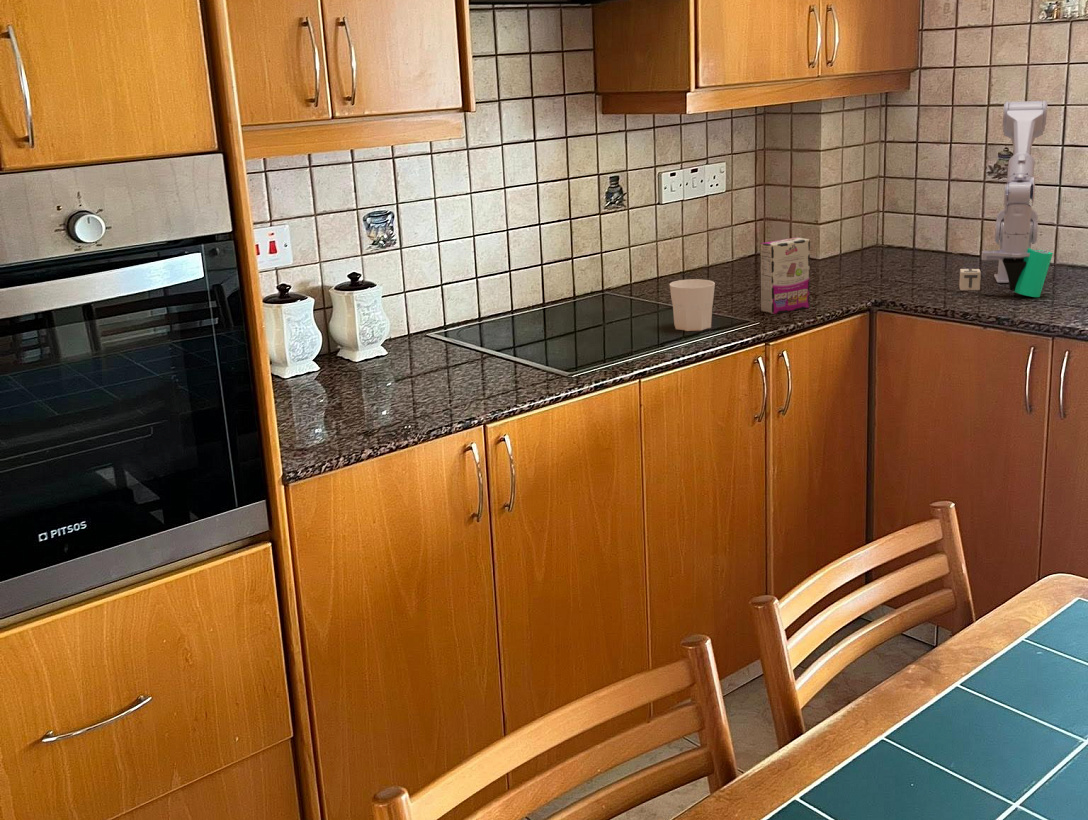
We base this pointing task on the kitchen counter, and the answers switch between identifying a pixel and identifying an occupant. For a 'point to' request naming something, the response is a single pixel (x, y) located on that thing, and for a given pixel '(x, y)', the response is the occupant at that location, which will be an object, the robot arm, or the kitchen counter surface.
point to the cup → (692, 303)
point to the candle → (1033, 273)
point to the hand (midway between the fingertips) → (1012, 290)
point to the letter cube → (969, 279)
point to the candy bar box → (785, 275)
